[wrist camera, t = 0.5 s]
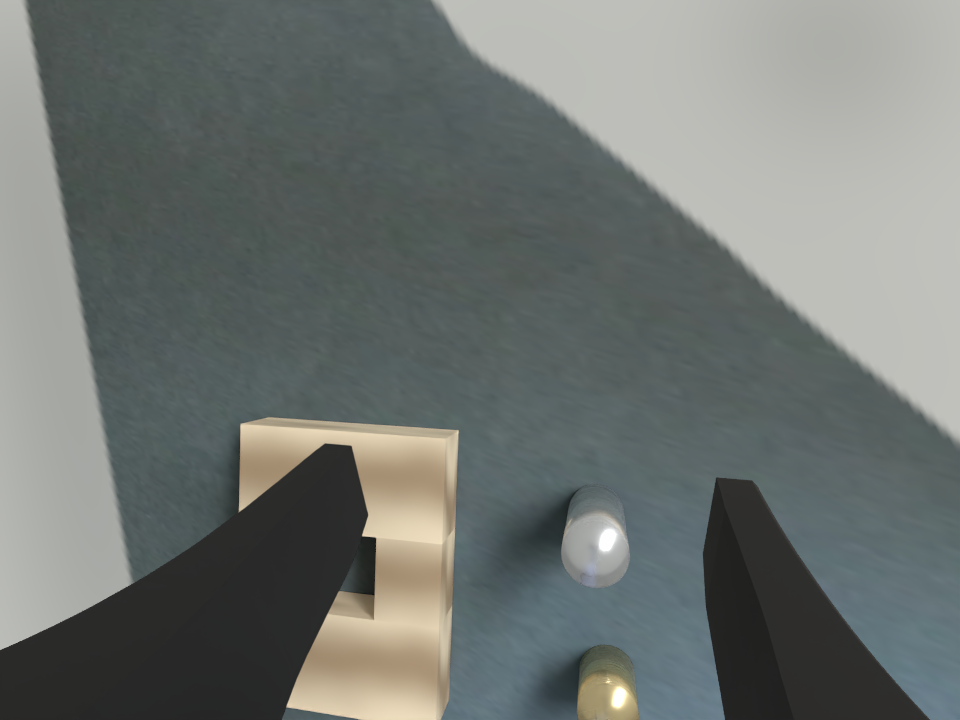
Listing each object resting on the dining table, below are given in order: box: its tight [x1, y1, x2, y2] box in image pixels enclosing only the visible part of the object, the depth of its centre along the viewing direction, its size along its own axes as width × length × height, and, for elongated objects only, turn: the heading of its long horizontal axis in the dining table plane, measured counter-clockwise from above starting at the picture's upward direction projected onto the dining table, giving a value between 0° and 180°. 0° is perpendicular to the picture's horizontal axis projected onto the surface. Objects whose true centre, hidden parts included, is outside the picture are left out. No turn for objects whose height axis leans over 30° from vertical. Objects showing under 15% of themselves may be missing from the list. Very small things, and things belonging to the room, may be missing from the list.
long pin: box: [561, 484, 630, 588], centre depth 31 cm, size 3×3×7 cm
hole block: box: [239, 417, 459, 720], centre depth 36 cm, size 16×12×3 cm
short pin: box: [577, 645, 639, 720], centre depth 33 cm, size 3×3×4 cm
